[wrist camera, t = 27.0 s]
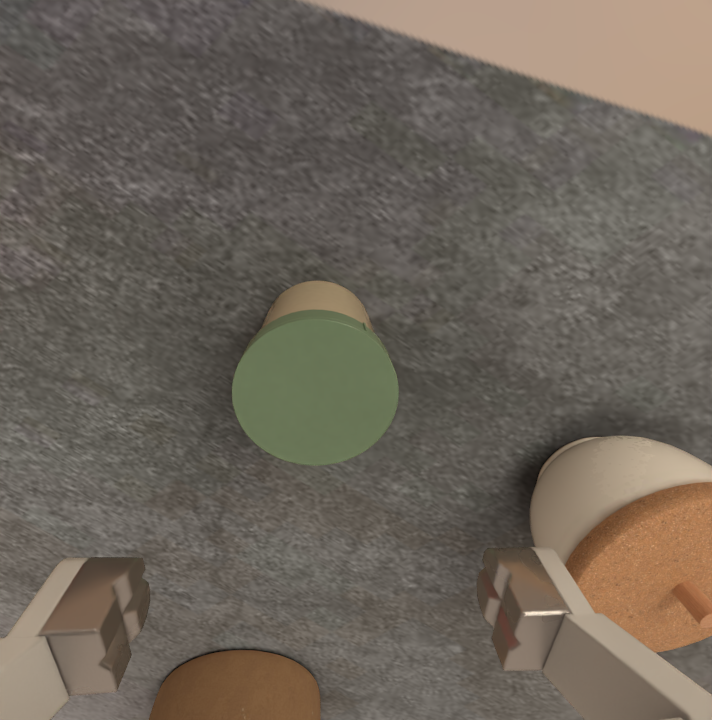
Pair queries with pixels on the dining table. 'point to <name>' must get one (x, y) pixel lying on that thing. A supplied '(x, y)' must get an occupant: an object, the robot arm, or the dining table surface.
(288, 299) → the jam jar
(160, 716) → the vase
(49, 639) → the robot arm
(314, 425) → the jam lid
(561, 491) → the lidded bowl
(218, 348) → the dining table surface
